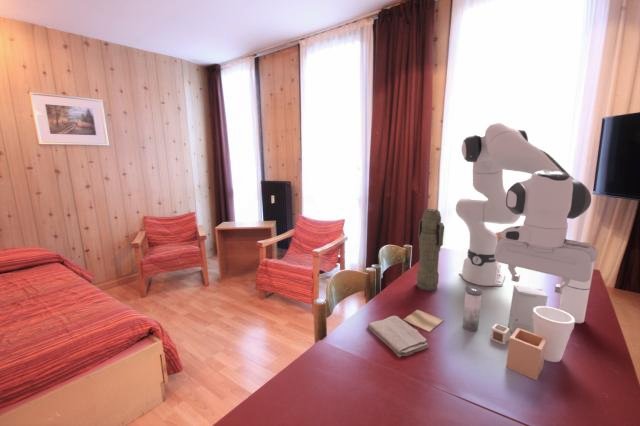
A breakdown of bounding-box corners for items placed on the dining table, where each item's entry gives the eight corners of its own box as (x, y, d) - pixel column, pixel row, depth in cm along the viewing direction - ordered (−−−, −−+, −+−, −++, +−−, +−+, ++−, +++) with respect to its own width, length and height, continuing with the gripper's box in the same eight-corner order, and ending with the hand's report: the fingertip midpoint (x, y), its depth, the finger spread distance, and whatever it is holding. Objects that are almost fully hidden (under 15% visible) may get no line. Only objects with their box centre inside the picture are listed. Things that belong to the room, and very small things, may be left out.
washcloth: (400, 360, 85) (401, 351, 85) (365, 328, 101) (366, 320, 101) (431, 349, 90) (432, 339, 90) (393, 320, 106) (393, 312, 106)
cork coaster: (417, 310, 112) (417, 309, 112) (443, 321, 104) (443, 320, 104) (403, 320, 105) (403, 319, 105) (429, 332, 98) (429, 331, 98)
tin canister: (465, 321, 104) (469, 284, 101) (480, 327, 100) (484, 289, 98) (459, 327, 101) (463, 289, 98) (474, 333, 97) (479, 294, 94)
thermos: (433, 294, 125) (439, 213, 118) (410, 284, 134) (414, 209, 127) (444, 288, 130) (450, 210, 124) (421, 279, 139) (425, 207, 133)
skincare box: (511, 333, 97) (516, 291, 94) (507, 323, 103) (512, 284, 100) (542, 338, 94) (548, 295, 91) (536, 328, 100) (542, 287, 97)
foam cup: (575, 368, 81) (583, 325, 79) (537, 363, 83) (544, 321, 80) (555, 346, 90) (561, 307, 88) (522, 343, 92) (527, 304, 90)
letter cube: (494, 334, 97) (495, 322, 96) (508, 339, 94) (510, 328, 93) (489, 339, 94) (490, 327, 93) (504, 345, 91) (505, 333, 90)
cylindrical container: (557, 317, 106) (567, 251, 101) (559, 310, 111) (569, 247, 106) (583, 325, 101) (596, 256, 96) (584, 317, 106) (596, 251, 102)
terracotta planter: (513, 355, 86) (517, 327, 85) (543, 367, 81) (547, 338, 80) (506, 366, 82) (509, 337, 80) (536, 380, 77) (541, 349, 75)
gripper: (600, 241, 69) (590, 296, 72) (502, 226, 84) (497, 272, 87) (597, 247, 65) (587, 305, 67) (495, 230, 80) (489, 278, 82)
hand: (536, 286), depth 77 cm, fingers open, 8 cm apart
